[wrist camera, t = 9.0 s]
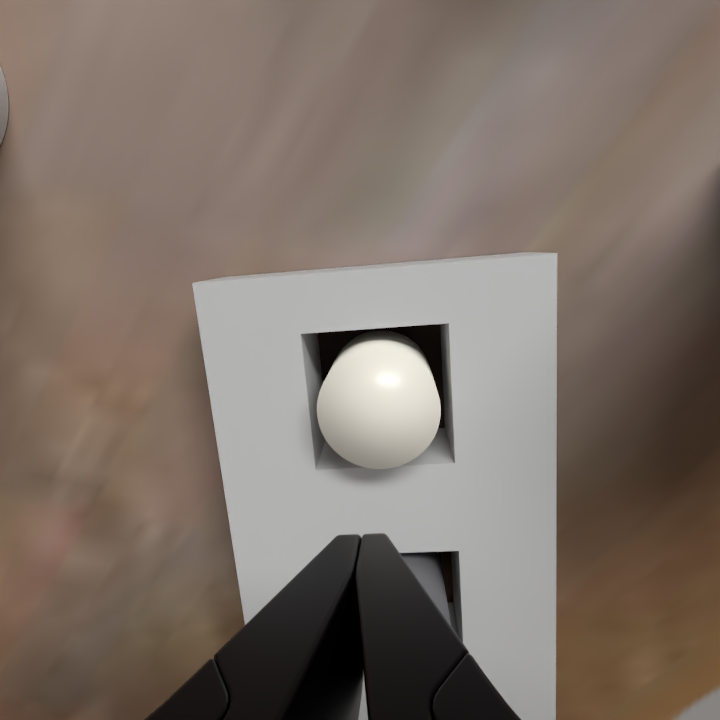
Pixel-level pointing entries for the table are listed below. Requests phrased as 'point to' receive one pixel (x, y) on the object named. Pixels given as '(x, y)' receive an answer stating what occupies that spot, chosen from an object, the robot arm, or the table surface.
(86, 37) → the table surface
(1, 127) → the coffee cup
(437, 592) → the key charcoal
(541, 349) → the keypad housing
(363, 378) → the key ivory
